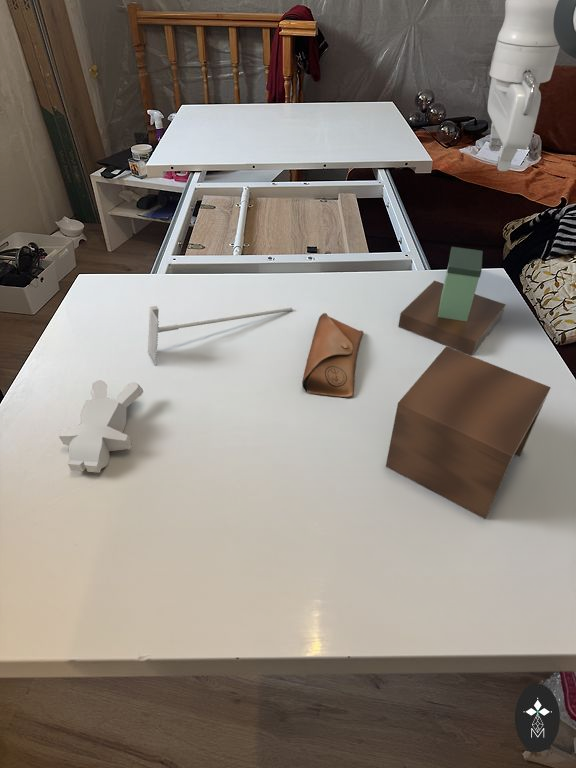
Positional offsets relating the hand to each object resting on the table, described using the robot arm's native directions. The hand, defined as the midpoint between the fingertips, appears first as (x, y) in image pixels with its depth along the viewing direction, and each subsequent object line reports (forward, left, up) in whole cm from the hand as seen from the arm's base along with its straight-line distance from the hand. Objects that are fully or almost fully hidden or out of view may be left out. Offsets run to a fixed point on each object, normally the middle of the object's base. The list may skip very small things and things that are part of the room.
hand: (497, 159), depth 89 cm
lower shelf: (-2, +12, -25) cm, 28 cm away
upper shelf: (-16, +42, -25) cm, 52 cm away
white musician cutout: (+26, +68, -26) cm, 77 cm away
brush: (+29, +40, -26) cm, 55 cm away
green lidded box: (-2, +12, -22) cm, 25 cm away
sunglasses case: (+9, +34, -26) cm, 43 cm away
